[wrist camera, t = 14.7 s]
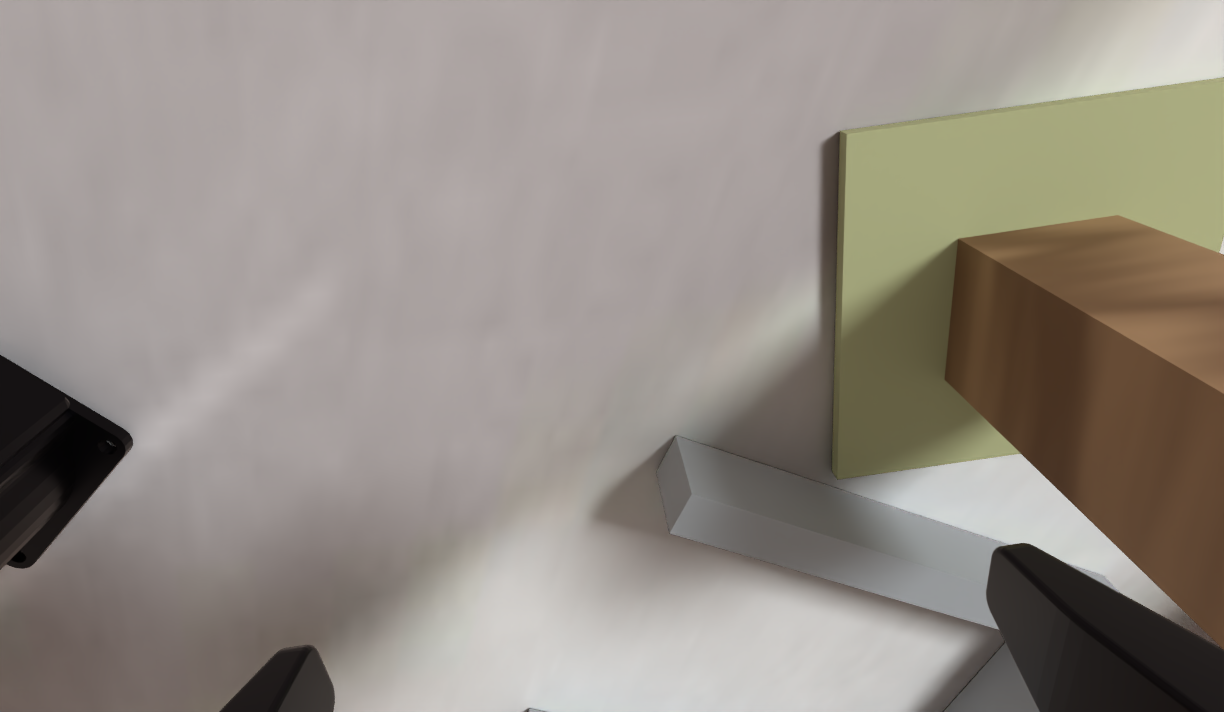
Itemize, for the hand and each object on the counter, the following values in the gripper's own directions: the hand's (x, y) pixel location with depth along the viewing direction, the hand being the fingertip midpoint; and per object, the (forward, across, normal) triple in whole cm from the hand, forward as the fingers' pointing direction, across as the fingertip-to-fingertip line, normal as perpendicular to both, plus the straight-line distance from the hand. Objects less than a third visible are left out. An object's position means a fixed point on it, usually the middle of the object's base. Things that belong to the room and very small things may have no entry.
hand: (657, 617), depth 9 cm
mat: (+12, -12, +2) cm, 17 cm away
